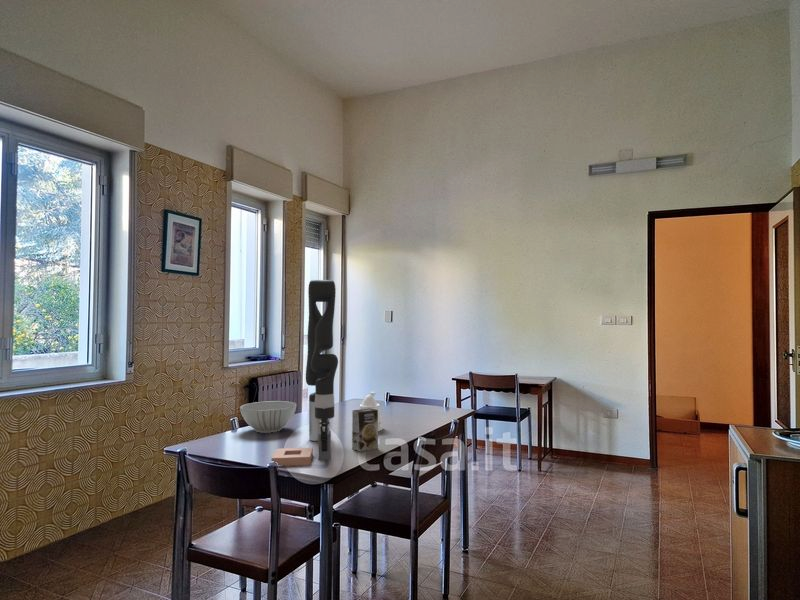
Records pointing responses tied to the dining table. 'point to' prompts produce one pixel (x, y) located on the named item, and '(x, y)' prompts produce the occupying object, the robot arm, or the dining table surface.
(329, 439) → the plug
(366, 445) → the coffee box
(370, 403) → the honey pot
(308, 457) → the socket
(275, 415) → the decorative bowl
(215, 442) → the dining table surface
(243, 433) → the dining table surface
